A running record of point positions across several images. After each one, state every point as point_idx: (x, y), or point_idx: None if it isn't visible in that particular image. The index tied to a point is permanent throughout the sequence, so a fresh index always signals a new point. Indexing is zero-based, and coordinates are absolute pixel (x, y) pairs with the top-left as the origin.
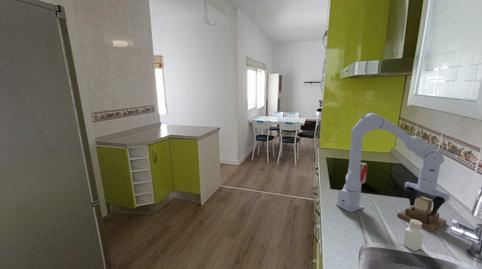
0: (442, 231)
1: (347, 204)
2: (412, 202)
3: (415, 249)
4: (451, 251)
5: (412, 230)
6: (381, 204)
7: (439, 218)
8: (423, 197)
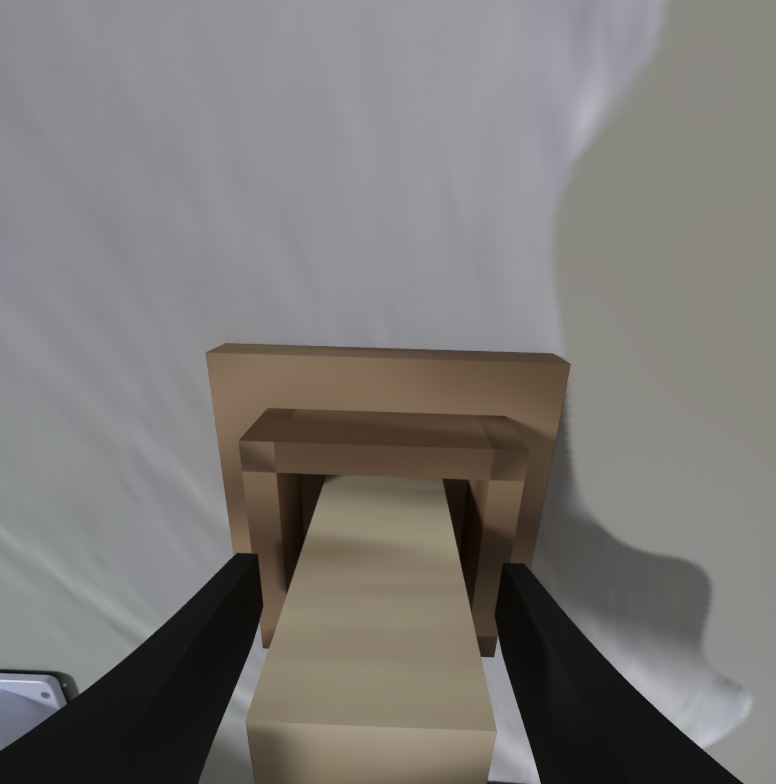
0: (561, 524)
1: None
2: (241, 648)
3: None
4: None
5: None
6: (32, 500)
7: (505, 382)
8: (316, 751)
